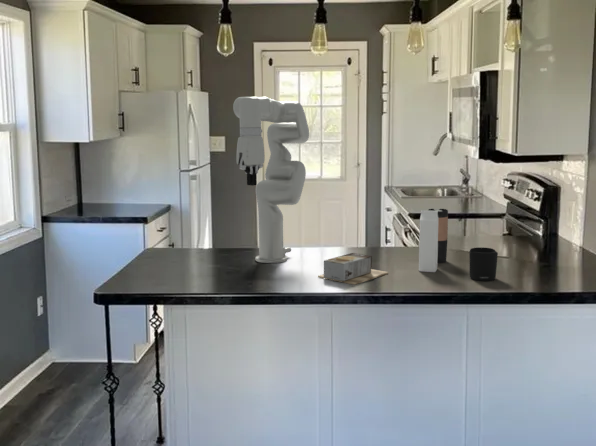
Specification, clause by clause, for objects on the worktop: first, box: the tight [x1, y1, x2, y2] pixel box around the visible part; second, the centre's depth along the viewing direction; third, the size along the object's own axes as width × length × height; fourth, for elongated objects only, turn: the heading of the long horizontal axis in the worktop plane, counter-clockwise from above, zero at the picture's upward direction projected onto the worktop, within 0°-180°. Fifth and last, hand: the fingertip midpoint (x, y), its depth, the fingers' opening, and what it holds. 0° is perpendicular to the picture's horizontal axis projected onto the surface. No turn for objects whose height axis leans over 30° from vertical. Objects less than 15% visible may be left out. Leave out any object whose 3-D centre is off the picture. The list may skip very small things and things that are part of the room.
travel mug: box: [428, 208, 449, 264], centre depth 263 cm, size 8×8×20 cm
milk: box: [418, 209, 438, 273], centre depth 249 cm, size 6×6×22 cm
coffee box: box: [323, 252, 373, 281], centre depth 240 cm, size 9×6×16 cm
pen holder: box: [468, 247, 499, 282], centre depth 237 cm, size 9×9×10 cm
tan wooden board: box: [317, 268, 389, 286], centre depth 243 cm, size 20×16×1 cm
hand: (251, 185), depth 242 cm, fingers closed
